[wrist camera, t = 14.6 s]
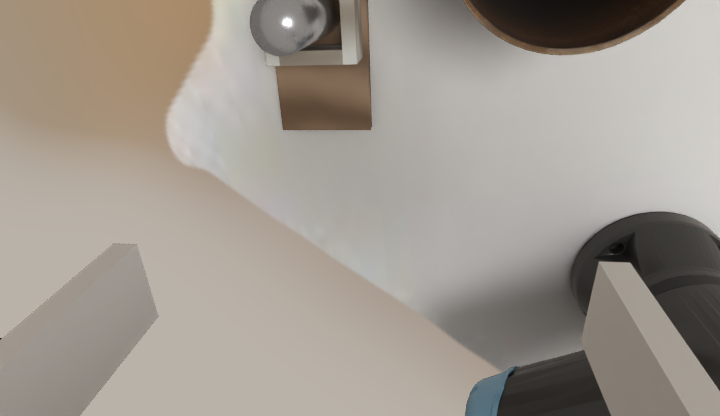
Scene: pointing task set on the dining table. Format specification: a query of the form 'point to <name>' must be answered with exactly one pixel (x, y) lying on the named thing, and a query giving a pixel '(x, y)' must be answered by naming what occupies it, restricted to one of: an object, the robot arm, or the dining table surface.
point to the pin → (292, 23)
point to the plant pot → (569, 22)
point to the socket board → (329, 77)
